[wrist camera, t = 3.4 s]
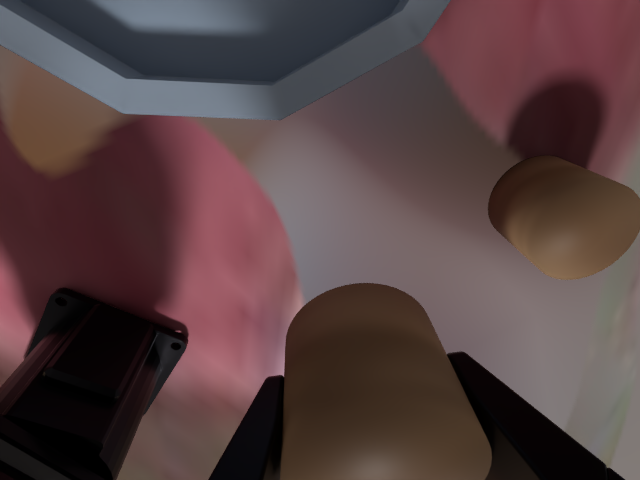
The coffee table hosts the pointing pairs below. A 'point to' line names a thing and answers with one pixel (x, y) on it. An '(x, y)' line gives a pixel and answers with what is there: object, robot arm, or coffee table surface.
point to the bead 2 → (564, 216)
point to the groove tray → (213, 49)
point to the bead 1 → (374, 394)
